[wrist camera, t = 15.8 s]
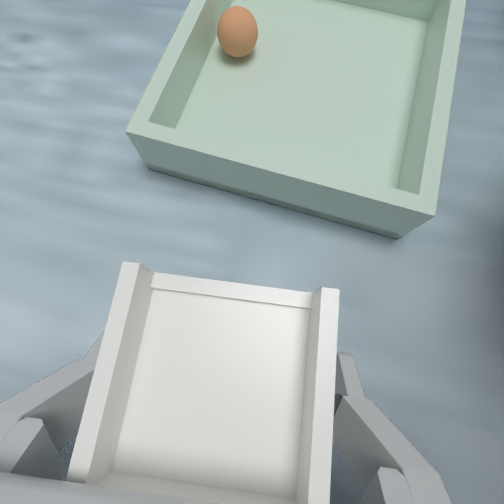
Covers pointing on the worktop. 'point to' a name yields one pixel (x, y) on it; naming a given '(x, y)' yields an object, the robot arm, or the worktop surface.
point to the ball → (237, 31)
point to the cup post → (212, 392)
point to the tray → (311, 107)
